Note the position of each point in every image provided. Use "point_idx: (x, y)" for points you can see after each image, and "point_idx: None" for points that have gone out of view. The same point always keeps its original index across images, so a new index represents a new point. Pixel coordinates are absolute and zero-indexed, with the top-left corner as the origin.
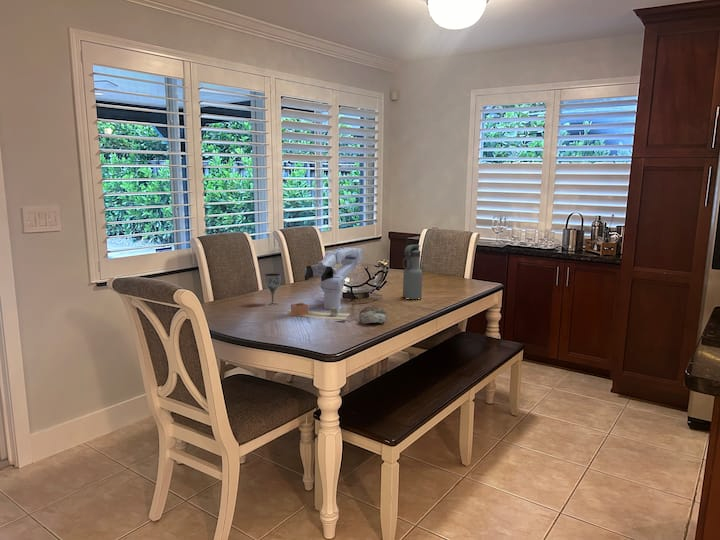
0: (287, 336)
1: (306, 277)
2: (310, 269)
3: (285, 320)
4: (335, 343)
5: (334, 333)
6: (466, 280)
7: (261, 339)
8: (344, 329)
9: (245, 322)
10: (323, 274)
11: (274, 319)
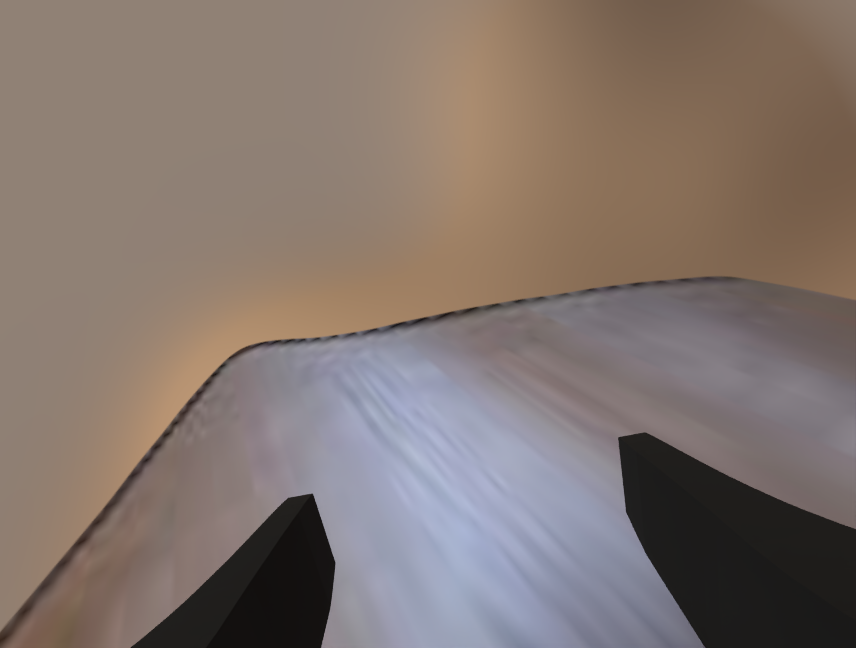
0: (455, 379)
1: (625, 471)
2: (820, 637)
3: None
4: (242, 420)
5: None
6: None
7: (515, 318)
8: None
9: (853, 403)
10: (259, 537)
11: None
